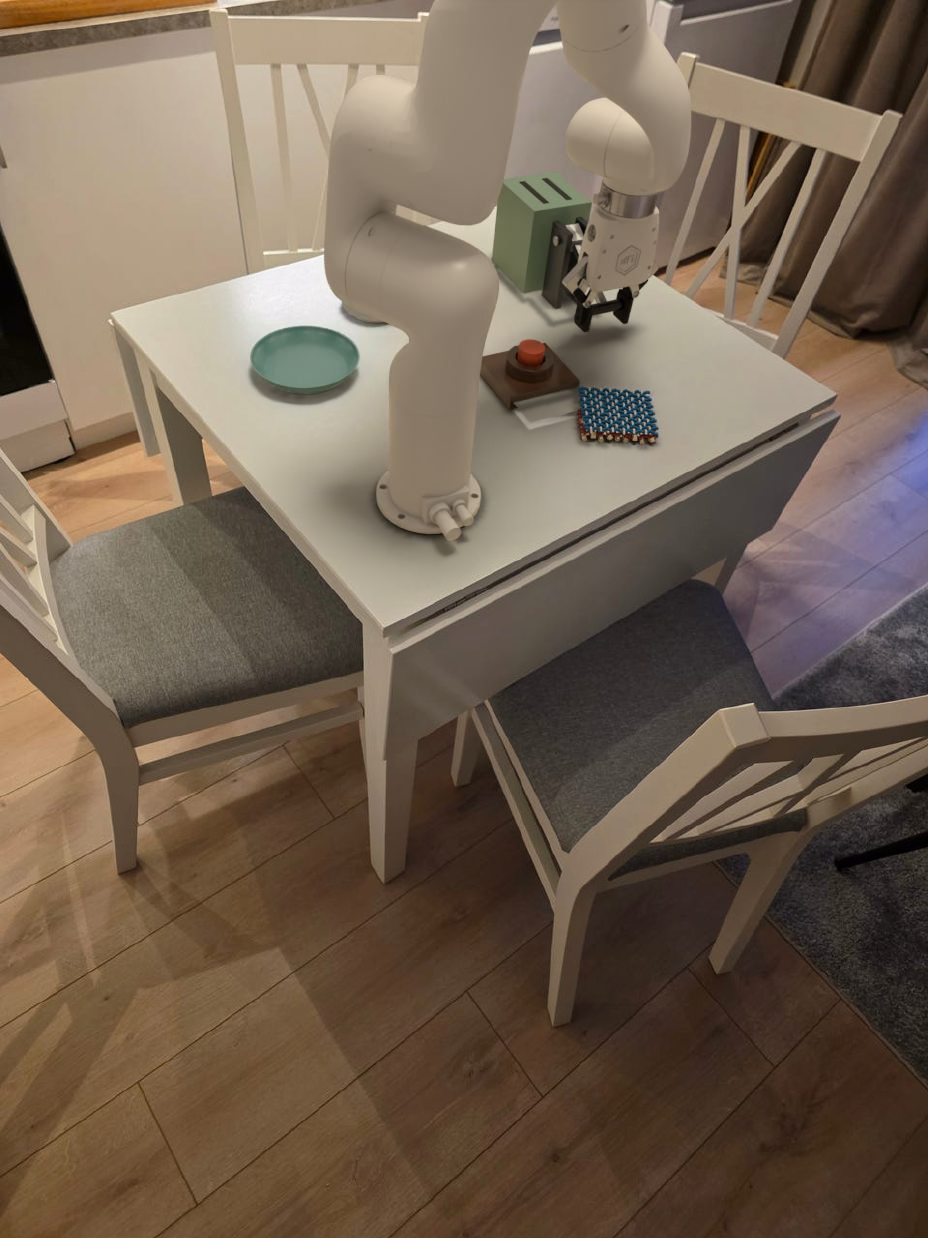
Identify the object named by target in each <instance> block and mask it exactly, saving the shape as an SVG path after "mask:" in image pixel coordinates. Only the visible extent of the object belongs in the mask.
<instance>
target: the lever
mask: <svg viewBox="0 0 928 1238" xmlns="http://www.w3.org/2000/svg"><path fill="white" fill-rule="evenodd" d="M565 227H566V228H567V229H568V230H569V231H571V232H572V233H573V240H572V246H571V251H570V252H572V251H573V252H574V254H575V256H576V258H577V261H578V258H579V254H580V249H581V245H582V241H583V237H584V234H583V232H582V230H581V228H580V226H579V224H578V223H577V224H571V225H566V226H565ZM594 301H595V302H596V303H592V304H591V305H592V306H593V308H594V310H593V315H592V317H593V316H598V315H603V314H607V313H613V311H618V310H622V309H623V308H624V301H623V299H621V298H620V299H616V298H614V299H611V300H607V298H606V295H605V293H604V291H602V292H598V293H597V295H596V296H595V298H594Z"/></svg>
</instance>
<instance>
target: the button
mask: <svg viewBox="0 0 928 1238" xmlns="http://www.w3.org/2000/svg"><path fill="white" fill-rule="evenodd" d="M543 343H544V342H541V341H540V340H537V339H532V338H530V339H528V338H527V339H524V340H521V341H520V342H519V344H518V345H519V349H518V356H517V359H518V361H519V363H521V364H523V365H526V366H538V365H541V364H542V363H543V359H544V352H545V346H544V344H543Z"/></svg>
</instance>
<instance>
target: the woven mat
mask: <svg viewBox="0 0 928 1238" xmlns="http://www.w3.org/2000/svg"><path fill="white" fill-rule="evenodd" d="M577 390H578V393H579V395H578V400H579V401H577V404H578V403H579V404H580V409H577V411H576V412H577V416H578V421H577V424H578V425H579V426H580V427H579V428H578V430H579V433H580V435H581V441H582V442H586V441H588V437H587V436H589V437H590V439H594V440H595V439H596V438H597V439H598V440H597V441H598V442H599V443H602V444H603V443H604V441H605V440H604V436H605V437H606V439H607V440H608V441H611V440H612V439H613V438H614V441H615V442H617V443H618V442H620V441H621V438H622V442H623V443H625V444H626V443H627V444H628V442H629V439H630V440H631V441H632V442H637V441H639V445H640V446H644V445H646V444H645V439H647V442H649V443H651V444H652V443H654V442H655V441H656V439H659V432H657V431H659V426H657V423H658V419H656V418H655V416H656V412H655V411H654V410H653V409H654V407H655V406H654V405H653V403H651V402H652V401H653V398H652V397H651V396H650V394H651V390H644V391H643V390H639V389H638V388H636V389H635V390H633V389H631V390H629V389H628V388H626V387H625V388H624V389H618V388H617V387H615V388H611V387H609V388H607V386H604V388H602V387H599V388H597V387H596V385H593V386H592V387H591V386H586V385H583V386H579V387H577Z"/></svg>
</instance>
